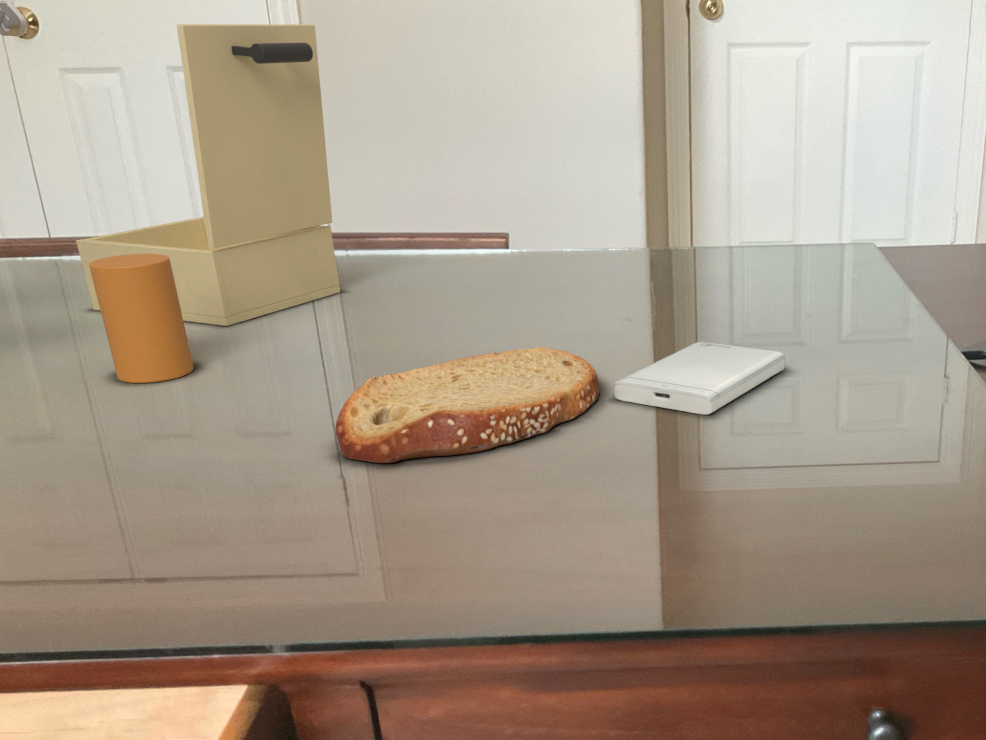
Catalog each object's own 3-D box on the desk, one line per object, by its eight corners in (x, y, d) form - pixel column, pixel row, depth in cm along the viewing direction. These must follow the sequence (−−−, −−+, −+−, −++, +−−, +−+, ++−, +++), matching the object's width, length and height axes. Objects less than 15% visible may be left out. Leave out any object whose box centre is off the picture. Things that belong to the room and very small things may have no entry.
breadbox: (93, 310, 107) (75, 240, 105) (215, 279, 120) (203, 216, 118) (226, 326, 101) (211, 252, 98) (340, 292, 114) (330, 226, 111)
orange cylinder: (125, 387, 84) (95, 270, 80) (111, 371, 88) (83, 259, 84) (201, 374, 87) (176, 261, 83) (184, 359, 91) (160, 250, 87)
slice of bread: (595, 373, 87) (592, 326, 85) (613, 450, 71) (610, 395, 69) (363, 386, 84) (356, 338, 82) (328, 469, 68) (318, 413, 66)
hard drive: (695, 340, 89) (613, 378, 80) (785, 352, 86) (711, 393, 76) (696, 359, 90) (614, 400, 80) (785, 372, 87) (711, 416, 77)
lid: (176, 24, 90) (217, 29, 88) (309, 24, 103) (347, 28, 101) (207, 247, 98) (246, 255, 97) (327, 221, 111) (362, 228, 110)
